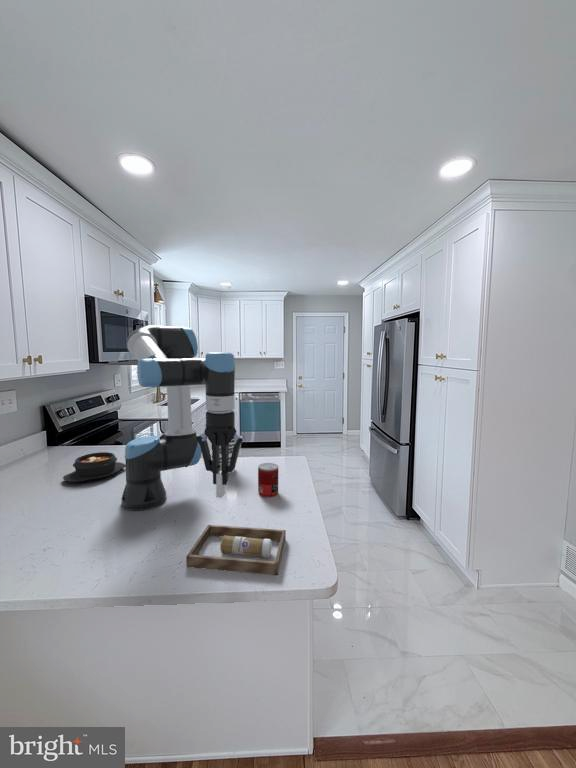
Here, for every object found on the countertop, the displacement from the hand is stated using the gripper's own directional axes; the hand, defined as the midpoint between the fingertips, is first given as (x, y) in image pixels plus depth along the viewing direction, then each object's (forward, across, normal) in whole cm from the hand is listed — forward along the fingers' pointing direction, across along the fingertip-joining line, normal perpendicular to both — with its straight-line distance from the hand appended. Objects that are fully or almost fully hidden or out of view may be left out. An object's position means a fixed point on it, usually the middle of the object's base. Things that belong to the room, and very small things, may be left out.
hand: (220, 495), depth 90 cm
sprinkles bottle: (+14, 0, -1) cm, 14 cm away
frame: (+16, +6, -1) cm, 17 cm away
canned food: (+17, +6, +38) cm, 42 cm away
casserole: (+18, -72, +46) cm, 88 cm away
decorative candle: (+17, -18, +60) cm, 65 cm away
